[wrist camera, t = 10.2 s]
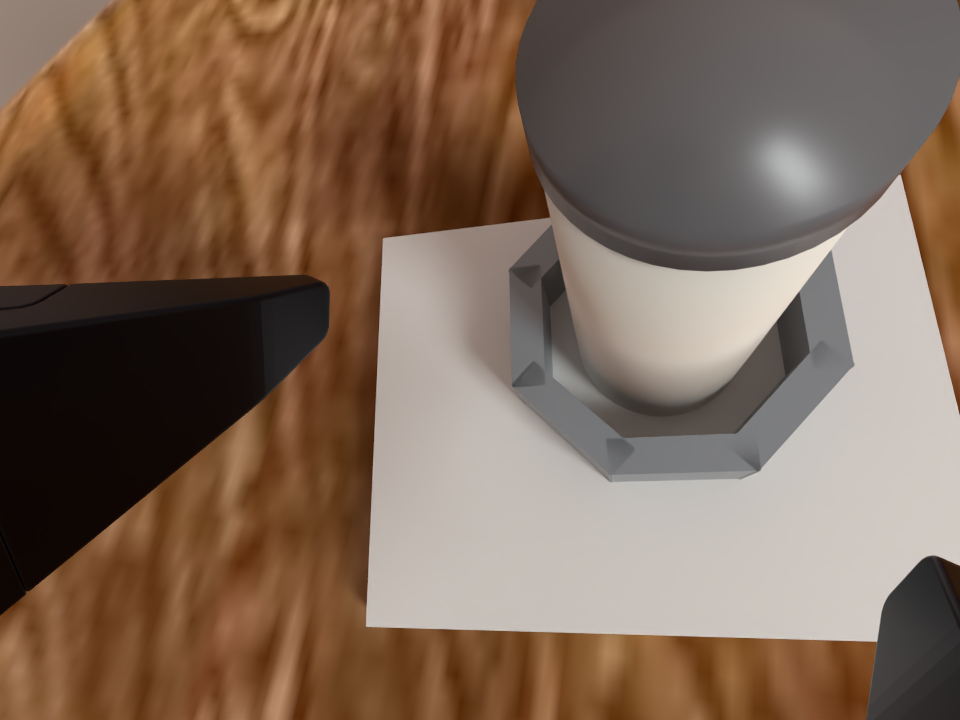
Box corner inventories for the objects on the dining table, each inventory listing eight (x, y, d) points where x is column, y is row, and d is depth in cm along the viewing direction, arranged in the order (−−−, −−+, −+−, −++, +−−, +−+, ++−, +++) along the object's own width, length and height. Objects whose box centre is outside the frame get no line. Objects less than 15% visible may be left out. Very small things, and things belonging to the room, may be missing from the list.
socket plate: (380, 621, 20) (329, 640, 16) (394, 251, 24) (356, 204, 20) (988, 637, 16) (1089, 666, 13) (884, 194, 20) (940, 125, 17)
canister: (622, 447, 19) (629, 310, 7) (549, 308, 20) (457, 12, 9) (780, 373, 18) (1076, 89, 6) (691, 237, 20) (795, -175, 8)
